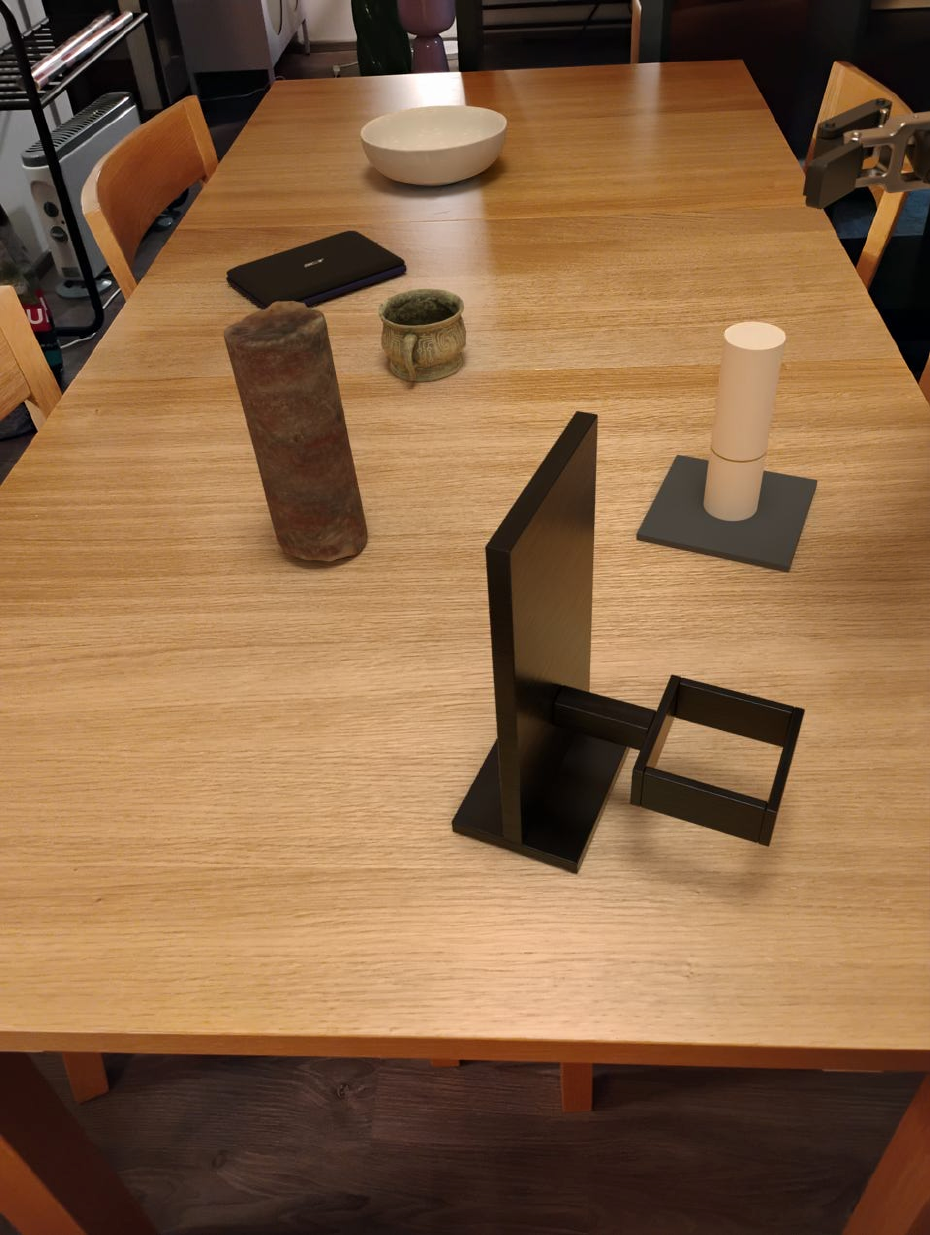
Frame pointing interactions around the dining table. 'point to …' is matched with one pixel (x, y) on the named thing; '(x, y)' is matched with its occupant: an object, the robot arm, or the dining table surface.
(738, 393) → the tube
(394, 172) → the serving bowl
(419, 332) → the vessel
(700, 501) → the mat
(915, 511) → the dining table surface
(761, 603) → the dining table surface
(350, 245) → the laptop
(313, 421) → the candle
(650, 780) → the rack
